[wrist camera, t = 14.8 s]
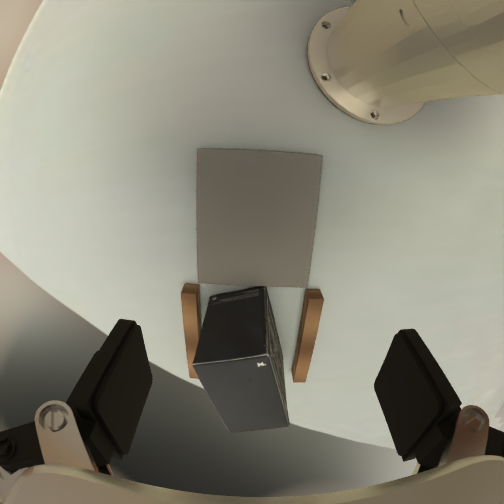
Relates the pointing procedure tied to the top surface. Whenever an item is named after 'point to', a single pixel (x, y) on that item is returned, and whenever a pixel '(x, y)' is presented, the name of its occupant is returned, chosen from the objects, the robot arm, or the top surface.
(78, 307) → the top surface
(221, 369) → the small box
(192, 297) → the brown open frame
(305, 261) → the rubber mat
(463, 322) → the top surface
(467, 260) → the top surface
